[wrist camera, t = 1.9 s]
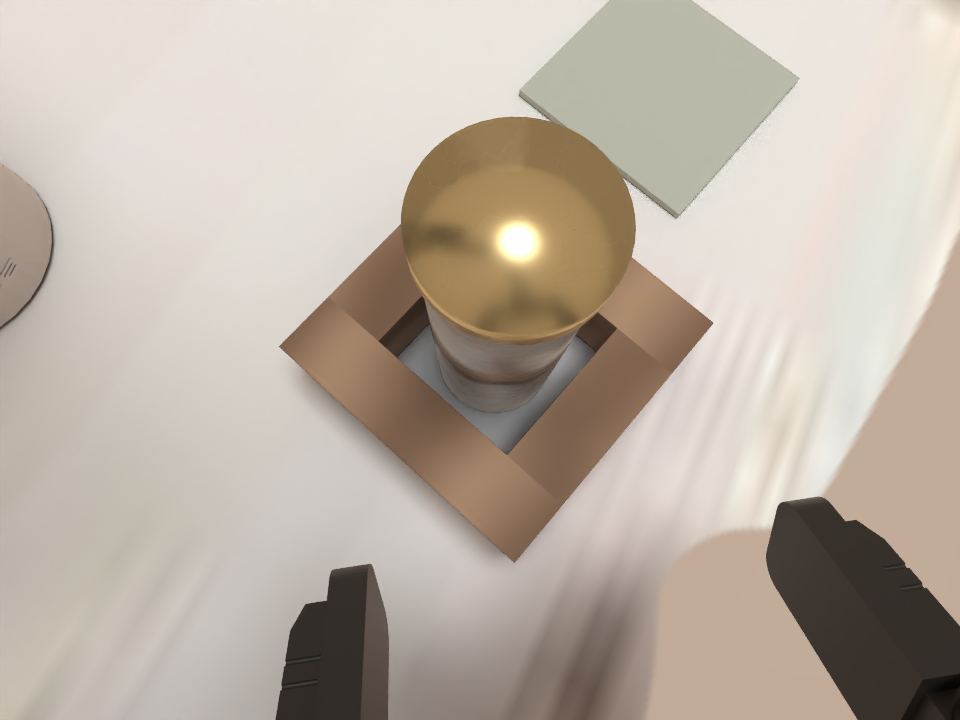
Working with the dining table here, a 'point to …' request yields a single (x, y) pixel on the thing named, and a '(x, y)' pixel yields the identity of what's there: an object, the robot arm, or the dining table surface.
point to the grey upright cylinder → (513, 251)
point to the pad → (660, 93)
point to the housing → (454, 440)
